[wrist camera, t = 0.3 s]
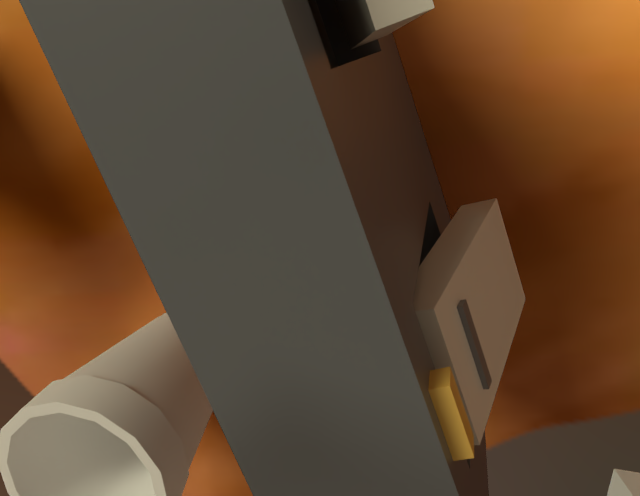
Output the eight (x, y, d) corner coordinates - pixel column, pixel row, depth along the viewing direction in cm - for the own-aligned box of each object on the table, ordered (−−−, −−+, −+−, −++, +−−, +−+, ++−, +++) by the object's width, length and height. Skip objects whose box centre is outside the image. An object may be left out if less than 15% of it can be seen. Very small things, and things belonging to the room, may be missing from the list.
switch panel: (354, -131, 29) (175, -393, 11) (486, 299, 35) (516, 596, 17) (97, -5, 34) (-325, -37, 16) (253, 353, 40) (83, 628, 22)
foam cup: (259, 306, 39) (171, 430, 27) (248, 420, 42) (167, 574, 30) (126, 277, 40) (-13, 384, 28) (127, 390, 44) (3, 526, 32)
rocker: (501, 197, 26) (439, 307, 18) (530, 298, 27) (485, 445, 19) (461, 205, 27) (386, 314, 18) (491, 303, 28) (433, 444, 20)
